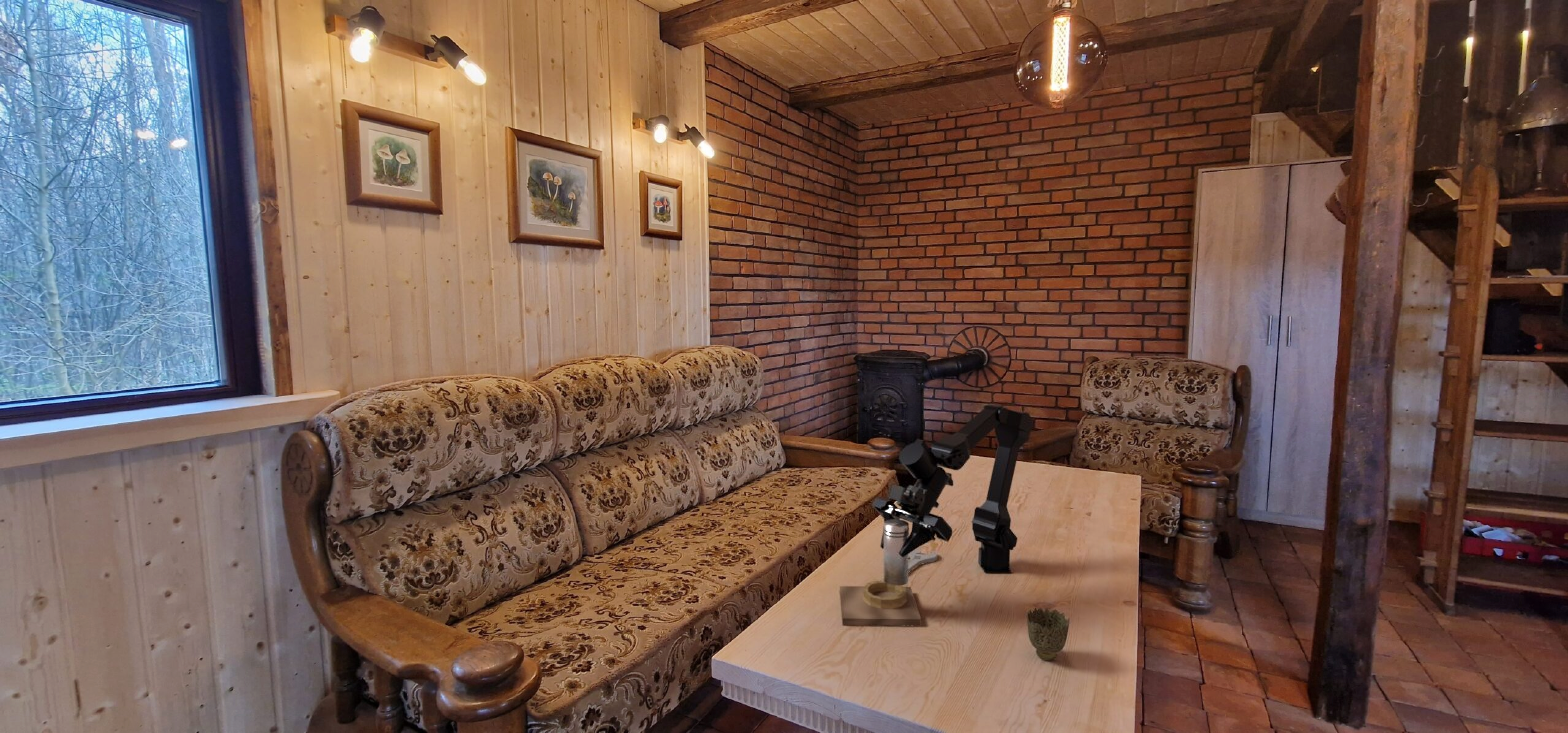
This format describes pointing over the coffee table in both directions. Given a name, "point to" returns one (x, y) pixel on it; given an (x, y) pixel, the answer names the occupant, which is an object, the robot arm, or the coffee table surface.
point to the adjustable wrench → (919, 559)
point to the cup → (1047, 632)
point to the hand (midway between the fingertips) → (891, 552)
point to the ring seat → (878, 605)
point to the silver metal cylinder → (895, 552)
